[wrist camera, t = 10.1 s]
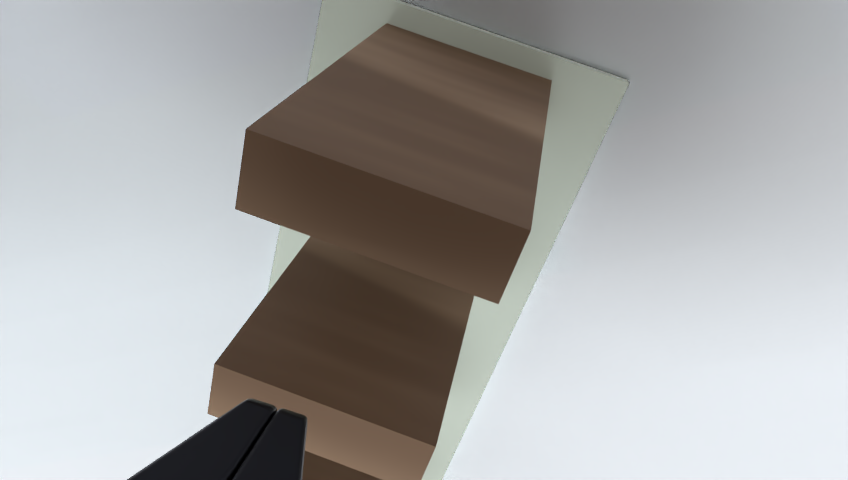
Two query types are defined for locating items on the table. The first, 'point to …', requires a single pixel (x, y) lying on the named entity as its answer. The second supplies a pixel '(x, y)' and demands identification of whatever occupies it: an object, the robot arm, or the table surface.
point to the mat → (556, 190)
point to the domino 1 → (406, 159)
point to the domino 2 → (351, 358)
